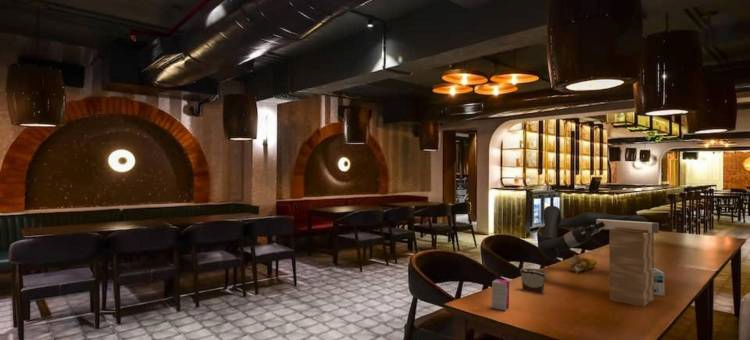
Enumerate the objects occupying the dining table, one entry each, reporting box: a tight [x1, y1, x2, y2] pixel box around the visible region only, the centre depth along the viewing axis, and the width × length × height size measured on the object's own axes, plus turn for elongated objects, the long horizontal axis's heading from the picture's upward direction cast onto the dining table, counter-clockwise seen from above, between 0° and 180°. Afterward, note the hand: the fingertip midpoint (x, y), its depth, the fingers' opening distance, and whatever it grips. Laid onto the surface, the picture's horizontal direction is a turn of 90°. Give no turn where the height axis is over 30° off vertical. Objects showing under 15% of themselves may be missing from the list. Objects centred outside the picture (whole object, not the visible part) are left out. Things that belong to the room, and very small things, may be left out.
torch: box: [568, 254, 598, 274], centre depth 248 cm, size 8×8×25 cm
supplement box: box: [491, 278, 510, 312], centre depth 179 cm, size 6×6×12 cm
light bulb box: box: [654, 267, 666, 297], centre depth 202 cm, size 11×7×11 cm, turn 168°
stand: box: [608, 227, 655, 307], centre depth 191 cm, size 15×13×31 cm
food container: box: [519, 268, 547, 295], centre depth 205 cm, size 12×6×10 cm, turn 47°
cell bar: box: [596, 219, 660, 234], centre depth 195 cm, size 4×24×4 cm, turn 50°
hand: (607, 223), depth 201 cm, fingers open, 8 cm apart
